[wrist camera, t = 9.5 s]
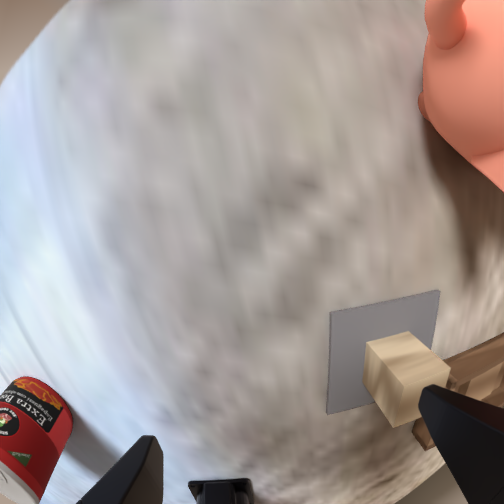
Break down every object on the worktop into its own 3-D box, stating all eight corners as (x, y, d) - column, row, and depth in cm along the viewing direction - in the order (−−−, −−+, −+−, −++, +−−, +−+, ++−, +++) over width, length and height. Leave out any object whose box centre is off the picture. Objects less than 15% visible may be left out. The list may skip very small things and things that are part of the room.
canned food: (70, 390, 20) (19, 478, 9) (80, 442, 22) (48, 520, 11) (7, 362, 19) (-53, 427, 8) (22, 416, 21) (-19, 481, 10)
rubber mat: (420, 383, 23) (422, 385, 23) (326, 412, 23) (327, 414, 22) (437, 289, 21) (440, 291, 21) (329, 312, 20) (331, 314, 20)
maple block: (402, 369, 22) (437, 409, 16) (362, 381, 22) (393, 428, 16) (408, 331, 21) (450, 367, 15) (366, 342, 21) (404, 386, 15)
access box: (498, 386, 26) (512, 399, 23) (411, 432, 25) (425, 451, 22) (518, 324, 24) (536, 334, 21) (432, 364, 23) (451, 383, 19)
